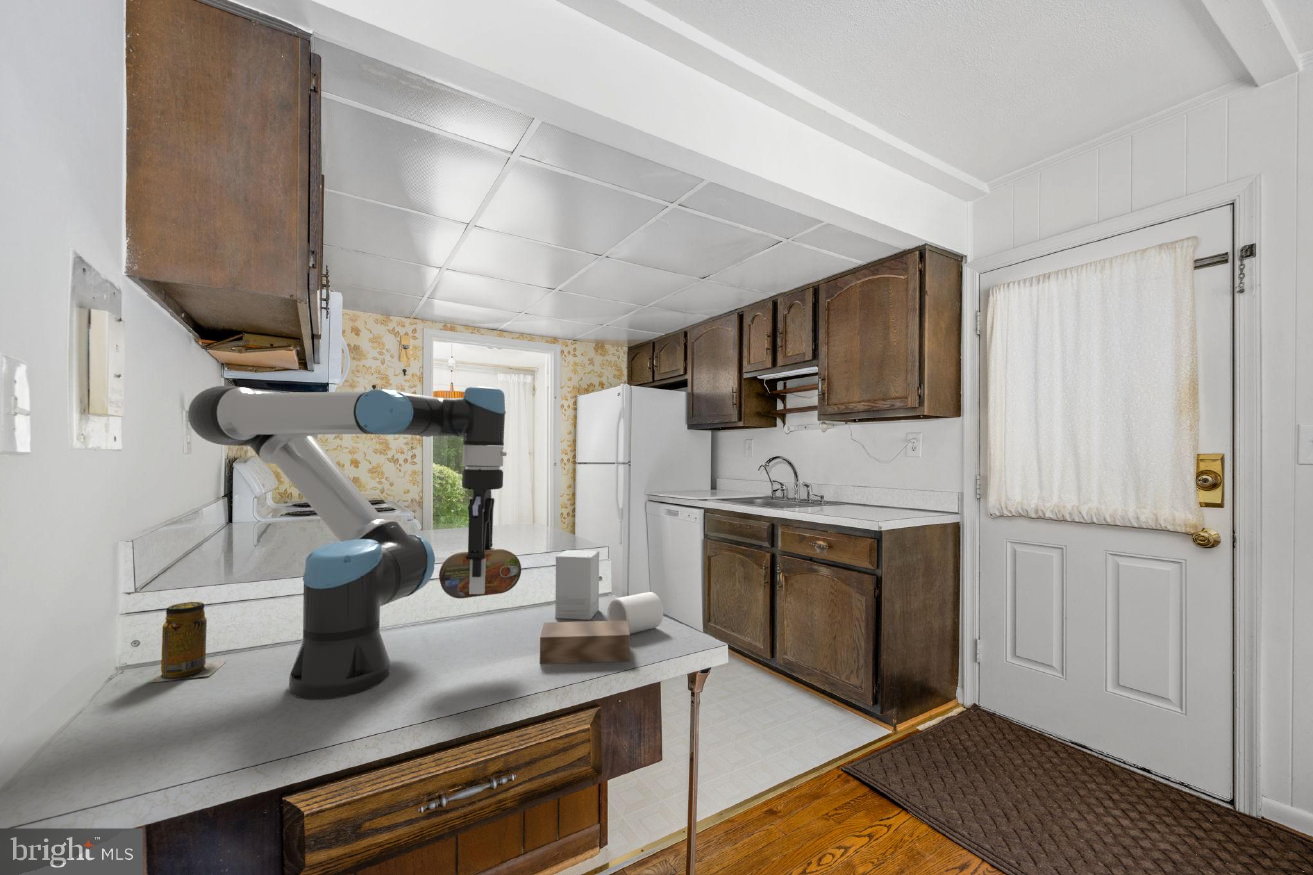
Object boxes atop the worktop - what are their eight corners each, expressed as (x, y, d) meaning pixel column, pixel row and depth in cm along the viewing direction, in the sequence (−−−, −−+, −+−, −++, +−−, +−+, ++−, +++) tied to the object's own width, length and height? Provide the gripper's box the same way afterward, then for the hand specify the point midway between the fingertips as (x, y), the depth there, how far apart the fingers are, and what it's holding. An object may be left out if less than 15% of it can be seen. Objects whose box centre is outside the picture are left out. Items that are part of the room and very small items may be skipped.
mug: (663, 631, 125) (664, 595, 126) (628, 640, 119) (628, 603, 119) (631, 618, 135) (631, 585, 135) (596, 626, 128) (597, 591, 129)
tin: (439, 601, 102) (441, 555, 102) (436, 595, 105) (438, 551, 104) (520, 591, 109) (522, 549, 109) (516, 587, 112) (518, 545, 112)
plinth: (539, 663, 105) (540, 637, 105) (543, 647, 114) (543, 622, 114) (629, 660, 107) (629, 634, 107) (626, 644, 116) (626, 620, 116)
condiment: (170, 667, 101) (172, 601, 102) (225, 662, 104) (227, 597, 104) (148, 683, 94) (151, 612, 95) (208, 677, 97) (211, 608, 97)
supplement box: (599, 609, 141) (600, 550, 141) (590, 620, 132) (591, 557, 133) (565, 607, 142) (566, 549, 143) (553, 618, 134) (555, 555, 134)
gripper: (495, 470, 99) (491, 602, 99) (509, 466, 116) (506, 579, 116) (452, 469, 98) (447, 602, 98) (472, 466, 115) (468, 579, 115)
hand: (479, 589), depth 107 cm, fingers closed on tin, 4 cm apart
